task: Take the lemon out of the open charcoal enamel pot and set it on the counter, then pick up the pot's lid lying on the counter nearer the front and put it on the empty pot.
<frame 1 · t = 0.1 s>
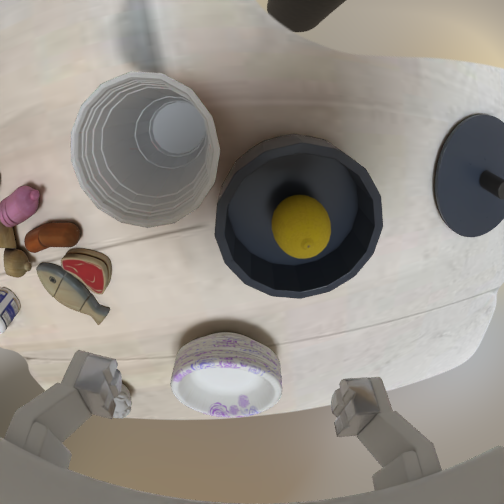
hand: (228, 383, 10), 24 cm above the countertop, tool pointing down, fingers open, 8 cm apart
frog figurine: (121, 384, 50), on the countertop
toy food set: (45, 241, 33), on the countertop
paper bowls: (228, 351, 43), on the countertop
pot: (294, 207, 32), on the countertop
lemon: (294, 208, 31), resting on pot
pill bottle: (11, 298, 39), on the countertop
plastic cup: (177, 129, 27), on the countertop
lid: (482, 177, 28), point 1 cm above the countertop
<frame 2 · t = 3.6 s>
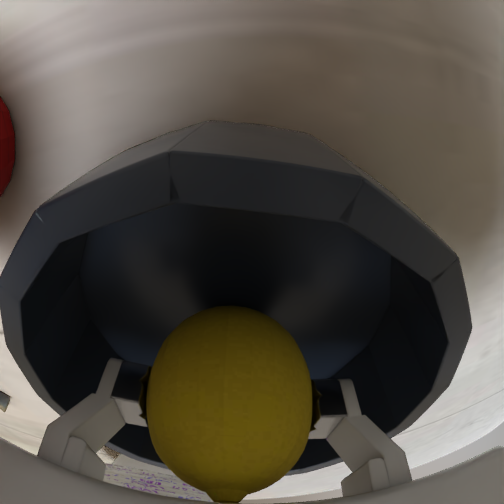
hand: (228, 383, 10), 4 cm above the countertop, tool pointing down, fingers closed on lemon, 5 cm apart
paper bowls: (168, 461, 25), on the countertop
pot: (233, 311, 13), on the countertop
lemon: (233, 314, 13), resting on pot, touching gripper
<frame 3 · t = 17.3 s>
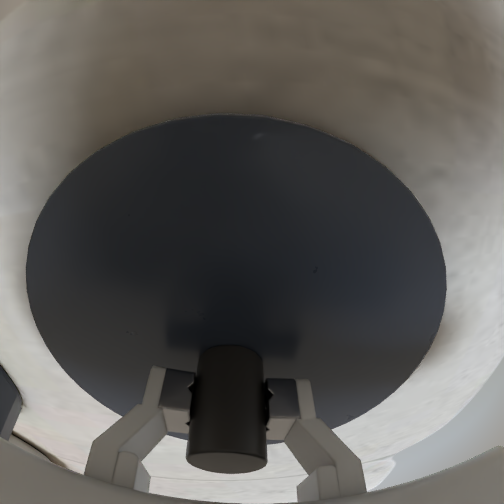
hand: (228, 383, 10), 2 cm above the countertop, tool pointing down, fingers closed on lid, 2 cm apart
paper bowls: (23, 444, 26), on the countertop
lid: (231, 352, 11), point 1 cm above the countertop, touching gripper
when the fingers open (7 cm above the countertop, at t = 24.9 s): lid stays where it is, resting on pot.
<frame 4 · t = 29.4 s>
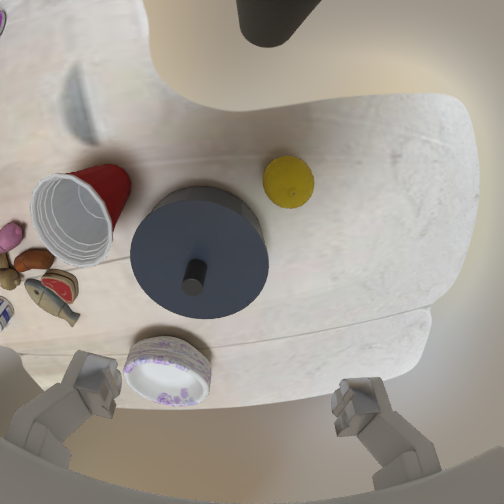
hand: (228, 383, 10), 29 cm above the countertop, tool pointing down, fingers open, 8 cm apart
toy food set: (30, 263, 42), on the countertop
paper bowls: (172, 351, 52), on the countertop
pot: (203, 241, 40), on the countertop
lemon: (284, 171, 35), on the countertop
pill bottle: (6, 305, 47), on the countertop
plastic cup: (111, 185, 36), on the countertop
lid: (197, 264, 35), point 5 cm above the countertop, touching pot
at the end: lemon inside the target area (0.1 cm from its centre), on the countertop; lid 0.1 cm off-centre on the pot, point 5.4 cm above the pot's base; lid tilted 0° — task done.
